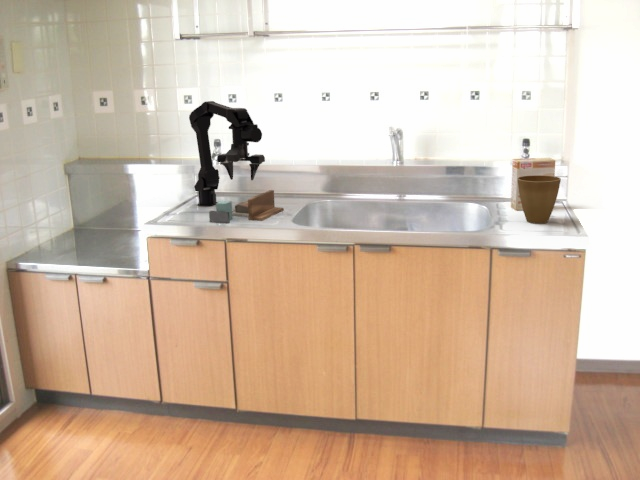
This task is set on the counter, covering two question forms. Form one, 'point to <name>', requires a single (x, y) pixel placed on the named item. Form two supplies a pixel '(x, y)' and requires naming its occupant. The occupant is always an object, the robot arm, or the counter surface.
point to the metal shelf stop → (219, 217)
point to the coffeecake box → (528, 174)
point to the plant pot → (538, 196)
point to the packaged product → (241, 209)
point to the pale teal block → (225, 207)
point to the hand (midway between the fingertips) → (241, 179)
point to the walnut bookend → (262, 206)
